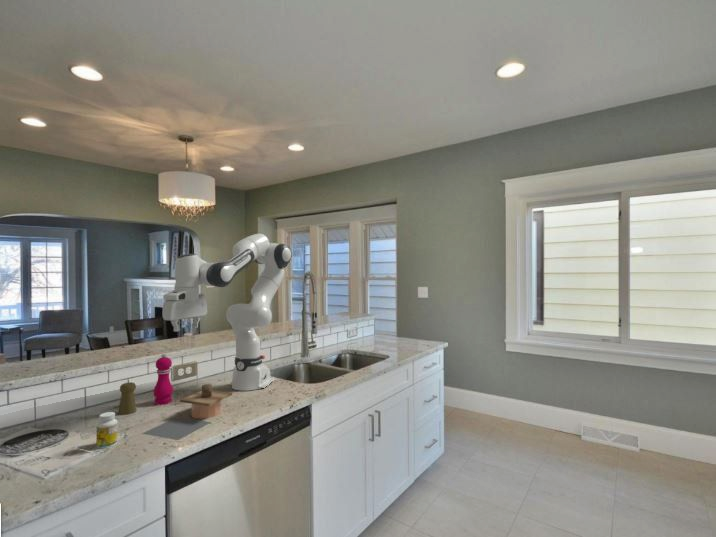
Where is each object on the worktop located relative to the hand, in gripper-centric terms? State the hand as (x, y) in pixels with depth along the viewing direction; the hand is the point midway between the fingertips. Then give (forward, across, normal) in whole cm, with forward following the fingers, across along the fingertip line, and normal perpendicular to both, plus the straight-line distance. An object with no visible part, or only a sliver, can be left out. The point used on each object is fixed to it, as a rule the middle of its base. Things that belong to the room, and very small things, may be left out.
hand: (186, 329), depth 147 cm
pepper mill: (+31, -3, -14) cm, 34 cm away
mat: (+31, +16, +12) cm, 37 cm away
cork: (+31, +10, -18) cm, 37 cm away
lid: (+25, +2, +12) cm, 28 cm away
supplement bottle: (+31, +33, +1) cm, 45 cm away
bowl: (+31, +2, +12) cm, 33 cm away
